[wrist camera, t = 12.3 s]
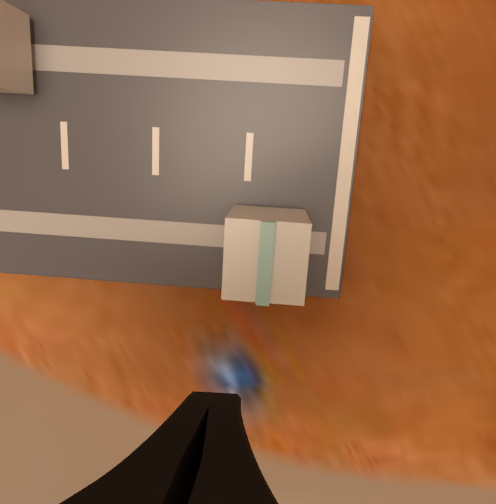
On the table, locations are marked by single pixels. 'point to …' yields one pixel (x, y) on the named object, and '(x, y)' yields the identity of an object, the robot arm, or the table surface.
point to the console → (179, 135)
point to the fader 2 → (266, 255)
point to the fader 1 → (15, 51)
